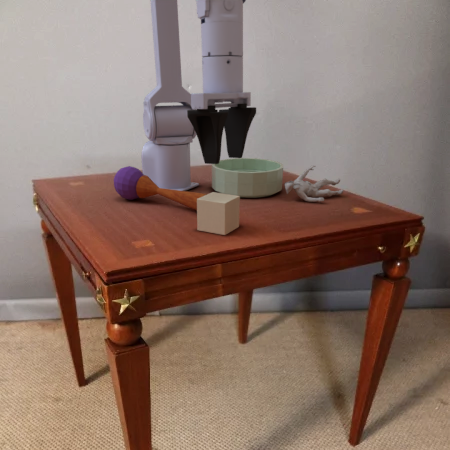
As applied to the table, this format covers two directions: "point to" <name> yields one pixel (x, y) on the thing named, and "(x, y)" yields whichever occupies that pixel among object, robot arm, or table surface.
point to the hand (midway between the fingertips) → (224, 160)
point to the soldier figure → (311, 188)
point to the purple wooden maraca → (149, 188)
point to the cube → (218, 213)
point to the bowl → (247, 177)
